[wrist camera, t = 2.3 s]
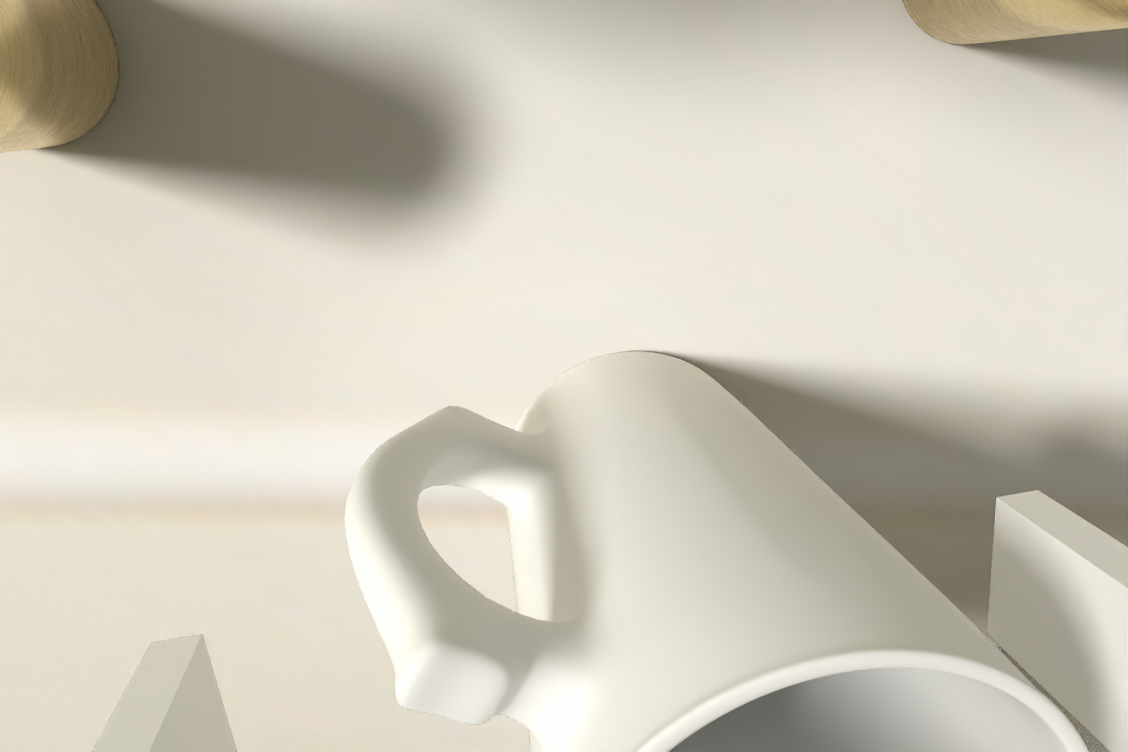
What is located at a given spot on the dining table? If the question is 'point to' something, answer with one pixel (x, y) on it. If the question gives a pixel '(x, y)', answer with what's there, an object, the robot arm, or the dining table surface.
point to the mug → (672, 587)
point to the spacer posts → (90, 66)
